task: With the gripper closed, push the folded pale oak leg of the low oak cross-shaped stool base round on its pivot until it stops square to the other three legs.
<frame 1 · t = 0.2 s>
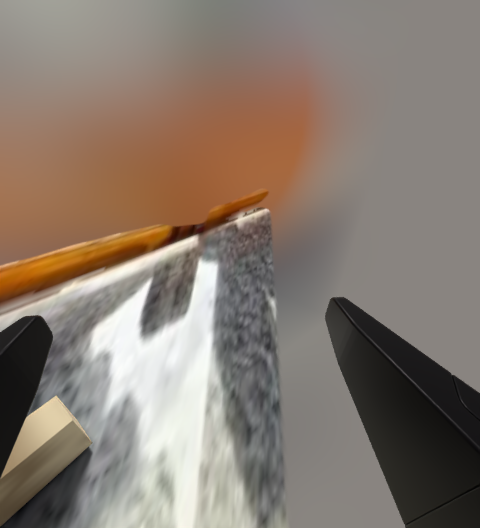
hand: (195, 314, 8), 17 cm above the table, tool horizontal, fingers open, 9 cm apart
folding leg: (14, 469, 17), point 2 cm above the table, hinge at 45.0°
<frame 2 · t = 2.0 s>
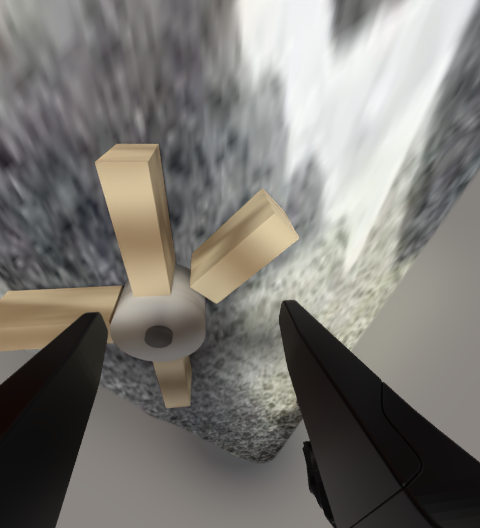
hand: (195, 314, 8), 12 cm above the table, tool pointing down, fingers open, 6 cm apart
folding leg: (239, 247, 19), point 2 cm above the table, hinge at 45.0°
stool base: (166, 294, 24), on the table
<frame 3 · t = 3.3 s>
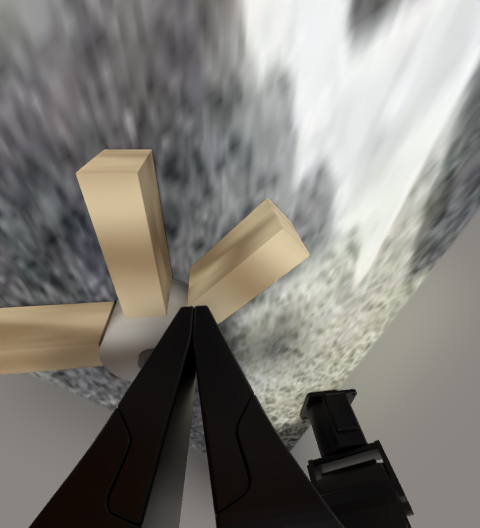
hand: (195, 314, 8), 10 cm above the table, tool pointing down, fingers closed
folding leg: (241, 262, 17), point 2 cm above the table, hinge at 45.0°
stool base: (162, 309, 22), on the table
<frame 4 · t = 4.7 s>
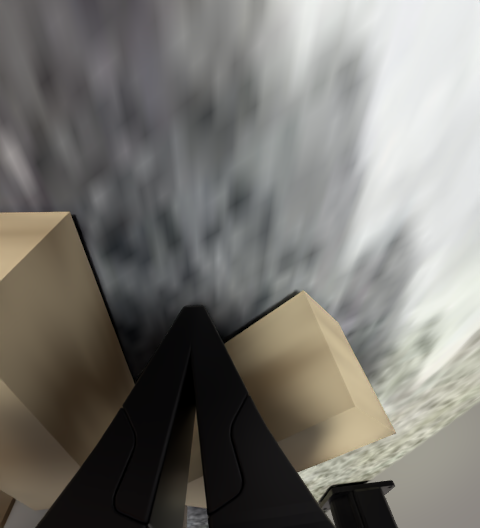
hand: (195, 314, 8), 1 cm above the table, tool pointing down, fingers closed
folding leg: (253, 402, 9), point 2 cm above the table, hinge at 43.7°, touching gripper
stool base: (125, 425, 14), on the table
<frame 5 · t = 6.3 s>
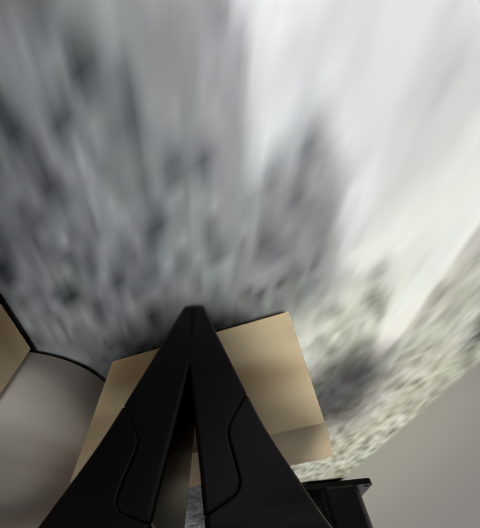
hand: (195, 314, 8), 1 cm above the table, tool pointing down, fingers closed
folding leg: (208, 402, 10), point 2 cm above the table, hinge at 19.0°, touching gripper
stool base: (34, 397, 12), on the table
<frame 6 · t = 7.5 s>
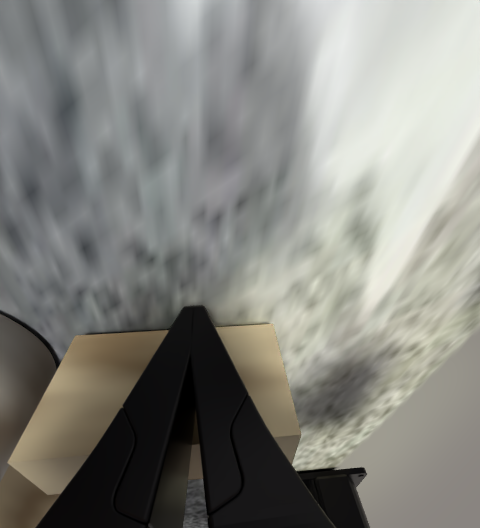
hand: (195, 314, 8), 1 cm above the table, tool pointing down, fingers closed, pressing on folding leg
folding leg: (175, 397, 9), point 2 cm above the table, hinge at 0.8°, touching gripper
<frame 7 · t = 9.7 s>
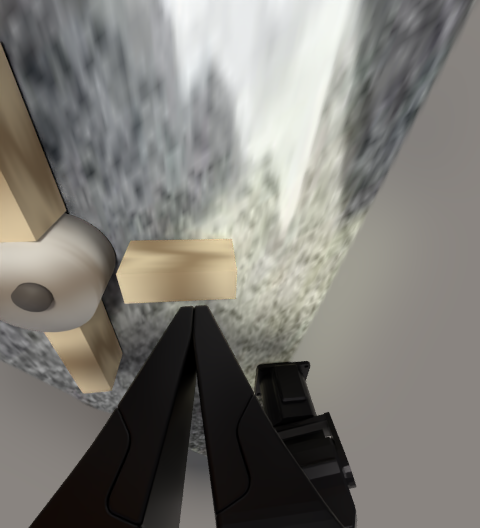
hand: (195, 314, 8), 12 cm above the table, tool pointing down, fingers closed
folding leg: (181, 269, 19), point 2 cm above the table, hinge at -1.1°
stool base: (65, 254, 20), on the table
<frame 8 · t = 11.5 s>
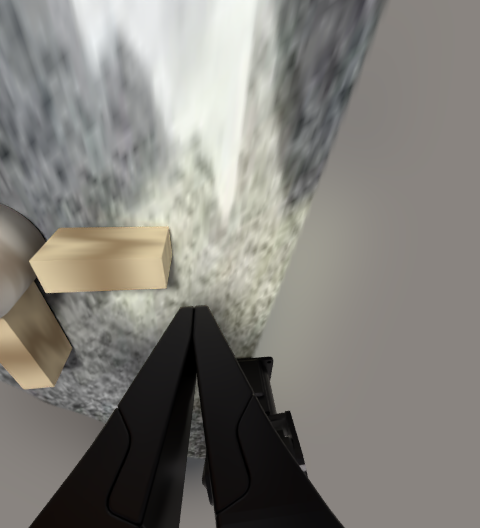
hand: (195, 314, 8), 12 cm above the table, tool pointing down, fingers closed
folding leg: (111, 257, 18), point 2 cm above the table, hinge at -1.1°
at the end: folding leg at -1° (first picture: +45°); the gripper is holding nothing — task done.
